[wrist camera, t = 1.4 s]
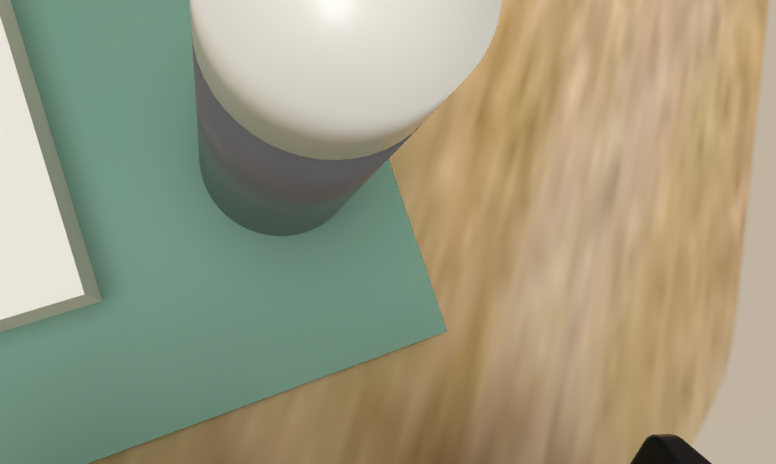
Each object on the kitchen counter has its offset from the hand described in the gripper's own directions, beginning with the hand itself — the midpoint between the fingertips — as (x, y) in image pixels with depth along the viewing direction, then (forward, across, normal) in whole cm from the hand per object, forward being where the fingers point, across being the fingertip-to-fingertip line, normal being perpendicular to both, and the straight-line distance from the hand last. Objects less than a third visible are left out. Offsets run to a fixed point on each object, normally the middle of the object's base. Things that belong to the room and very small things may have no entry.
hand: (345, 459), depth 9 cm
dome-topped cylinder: (+14, 0, +4) cm, 14 cm away
